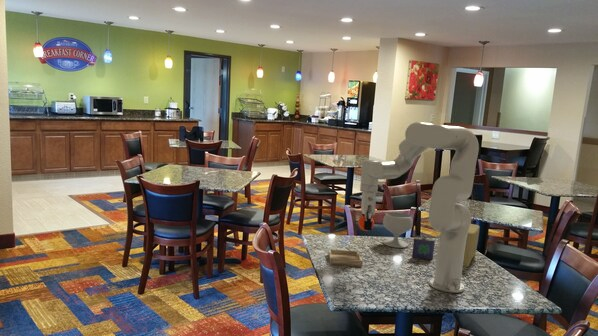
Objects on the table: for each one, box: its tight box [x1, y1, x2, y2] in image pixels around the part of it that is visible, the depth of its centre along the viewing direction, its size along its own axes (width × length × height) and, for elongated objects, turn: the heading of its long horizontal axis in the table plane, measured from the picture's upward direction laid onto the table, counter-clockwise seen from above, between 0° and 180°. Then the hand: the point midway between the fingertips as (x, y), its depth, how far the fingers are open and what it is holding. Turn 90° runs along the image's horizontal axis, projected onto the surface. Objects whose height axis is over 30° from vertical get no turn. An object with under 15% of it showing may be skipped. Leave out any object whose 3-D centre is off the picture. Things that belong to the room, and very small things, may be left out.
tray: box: [327, 248, 364, 268], centre depth 196 cm, size 13×13×2 cm
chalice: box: [382, 211, 413, 249], centre depth 226 cm, size 14×14×15 cm
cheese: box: [463, 223, 480, 268], centre depth 210 cm, size 22×10×15 cm, turn 162°
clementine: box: [357, 215, 375, 232], centre depth 205 cm, size 8×7×7 cm
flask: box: [411, 234, 436, 261], centre depth 207 cm, size 9×3×11 cm, turn 88°
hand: (366, 227), depth 205 cm, fingers closed on clementine, 8 cm apart
